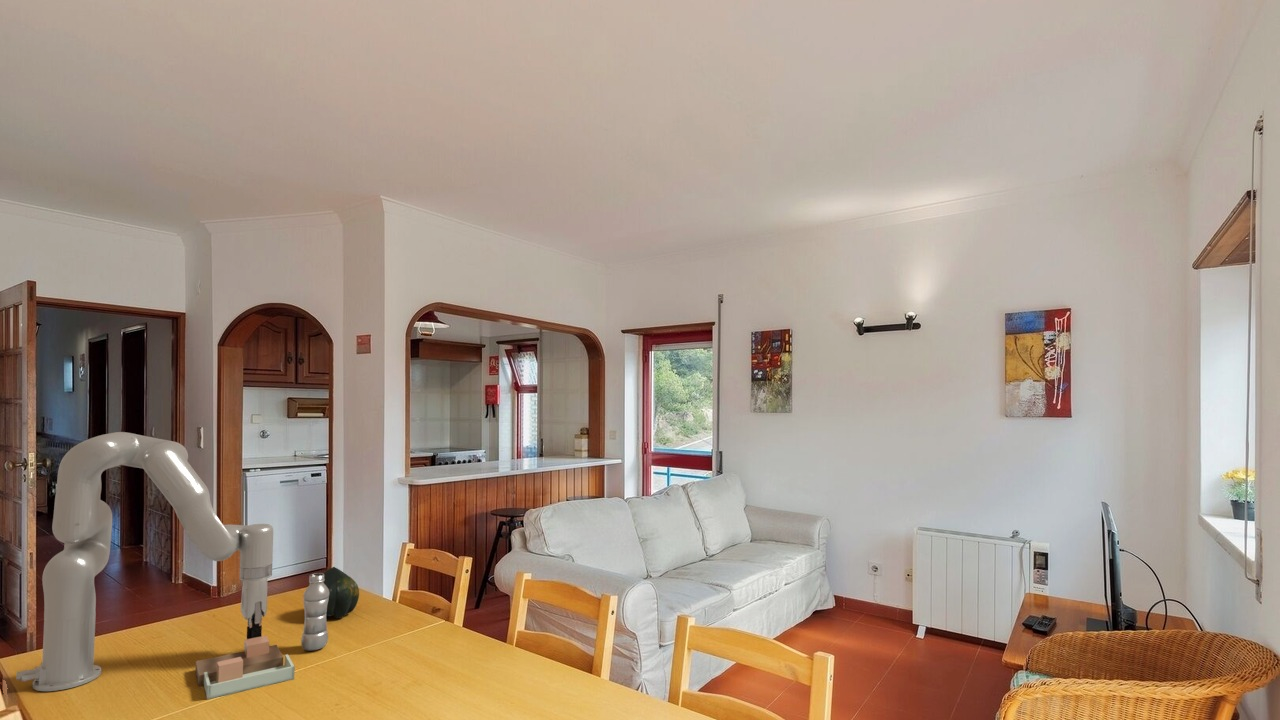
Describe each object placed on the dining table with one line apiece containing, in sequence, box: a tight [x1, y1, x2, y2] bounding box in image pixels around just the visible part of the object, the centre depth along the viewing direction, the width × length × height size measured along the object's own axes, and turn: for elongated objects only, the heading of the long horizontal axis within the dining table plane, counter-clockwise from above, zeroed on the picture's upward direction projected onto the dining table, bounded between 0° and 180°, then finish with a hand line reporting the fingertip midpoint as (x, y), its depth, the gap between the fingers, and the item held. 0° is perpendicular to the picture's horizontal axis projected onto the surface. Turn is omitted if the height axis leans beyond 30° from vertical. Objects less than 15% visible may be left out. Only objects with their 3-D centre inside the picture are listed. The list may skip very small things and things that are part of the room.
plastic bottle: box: [300, 572, 329, 652], centre depth 181 cm, size 6×7×20 cm
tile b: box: [243, 635, 270, 658], centre depth 172 cm, size 5×5×3 cm
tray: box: [203, 653, 296, 700], centre depth 161 cm, size 18×9×3 cm, turn 128°
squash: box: [323, 566, 360, 619], centre depth 207 cm, size 14×15×15 cm
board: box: [195, 644, 284, 687], centre depth 167 cm, size 18×10×2 cm, turn 128°
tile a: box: [216, 657, 243, 683], centre depth 159 cm, size 5×5×3 cm
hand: (253, 641), depth 176 cm, fingers closed
